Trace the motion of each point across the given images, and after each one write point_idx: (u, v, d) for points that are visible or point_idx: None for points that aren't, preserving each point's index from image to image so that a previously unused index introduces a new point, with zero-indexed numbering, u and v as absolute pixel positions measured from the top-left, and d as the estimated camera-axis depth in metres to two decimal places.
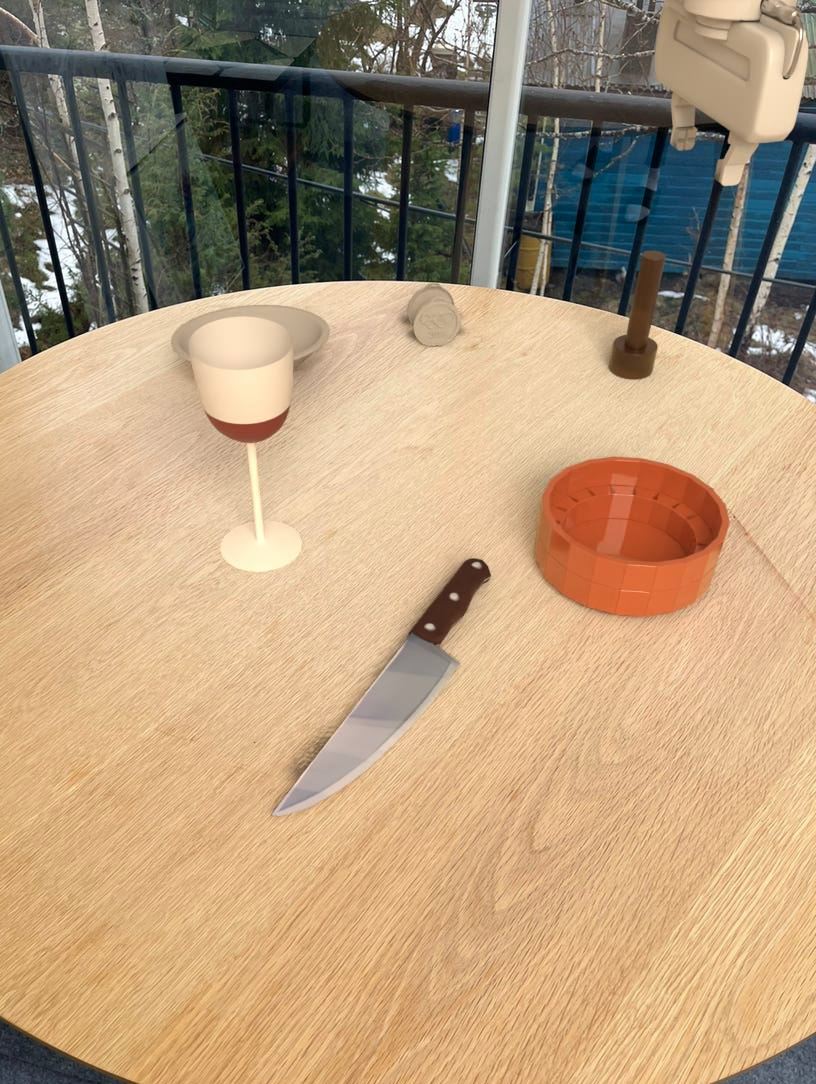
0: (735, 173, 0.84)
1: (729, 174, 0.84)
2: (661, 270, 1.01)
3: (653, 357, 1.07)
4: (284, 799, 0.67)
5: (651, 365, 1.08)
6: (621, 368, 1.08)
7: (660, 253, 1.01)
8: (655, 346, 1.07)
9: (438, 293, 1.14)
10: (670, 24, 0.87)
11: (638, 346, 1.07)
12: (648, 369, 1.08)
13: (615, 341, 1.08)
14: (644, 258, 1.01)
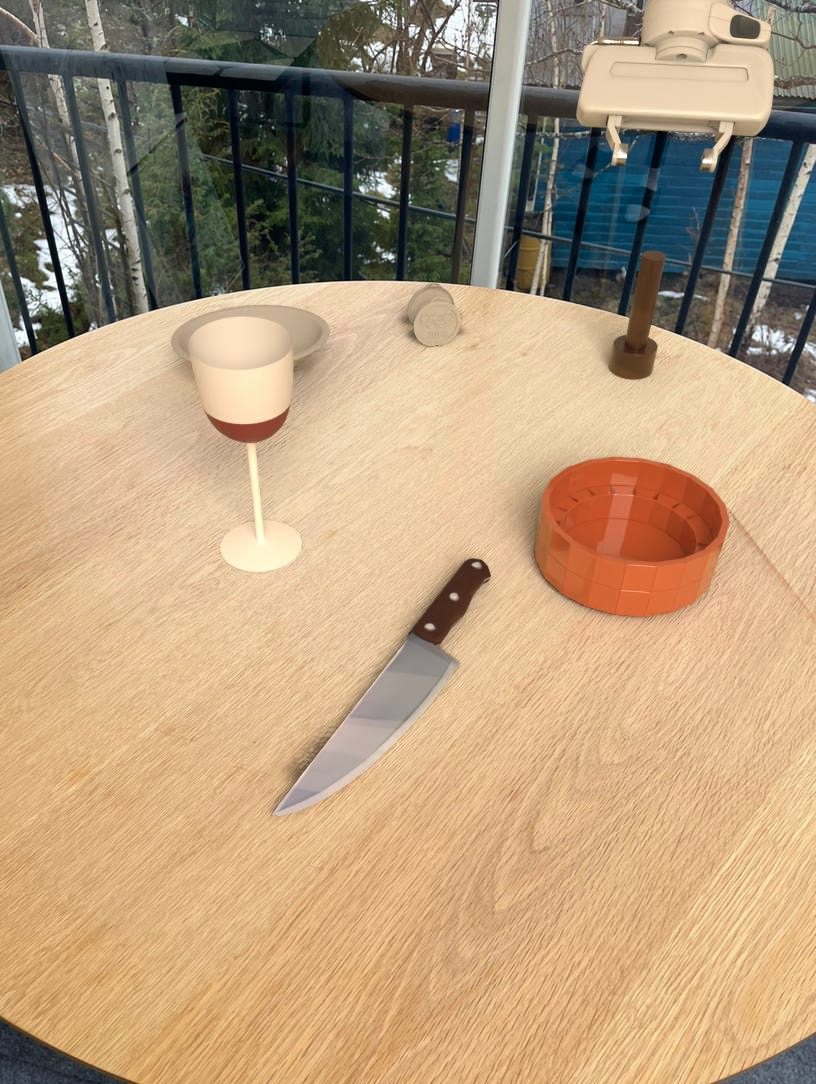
0: (613, 153, 1.07)
1: None
2: (661, 270, 1.01)
3: (653, 357, 1.07)
4: (284, 799, 0.67)
5: (651, 365, 1.08)
6: (621, 368, 1.08)
7: (660, 253, 1.01)
8: (655, 346, 1.07)
9: (438, 293, 1.14)
10: None
11: (638, 346, 1.07)
12: (648, 369, 1.08)
13: (615, 341, 1.08)
14: (644, 258, 1.01)
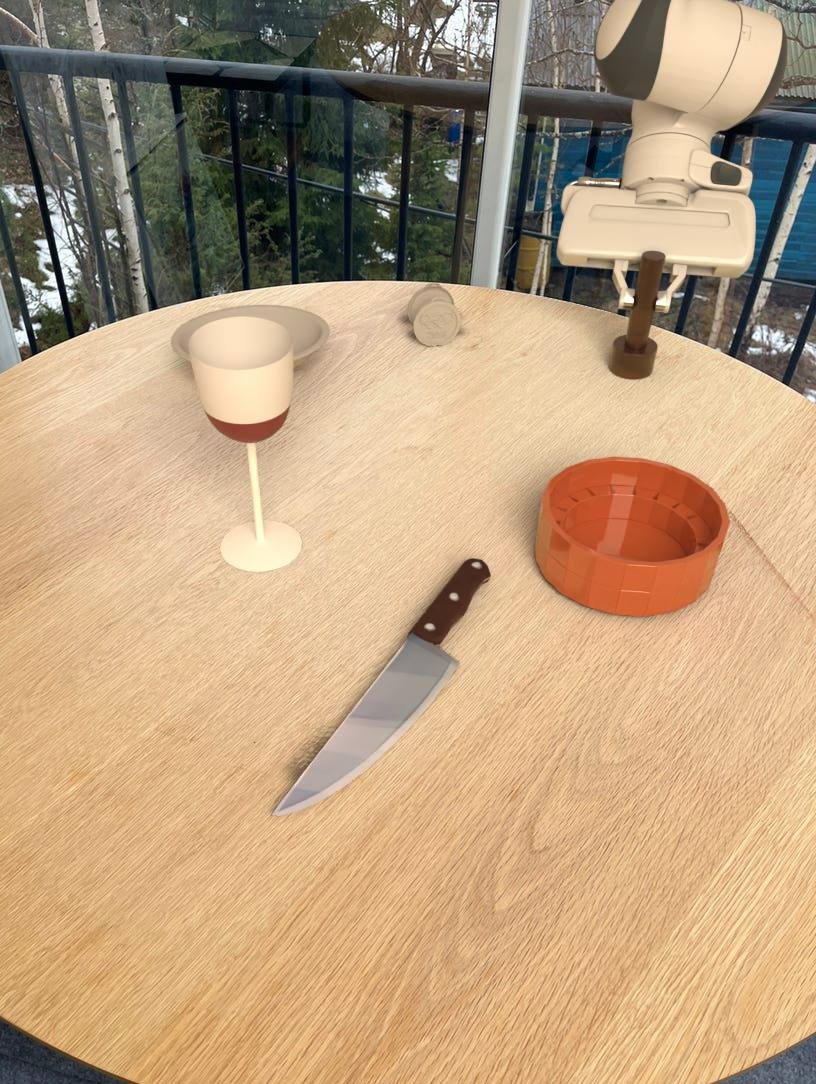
0: None
1: (619, 299, 1.05)
2: (661, 270, 1.01)
3: (653, 357, 1.07)
4: (284, 799, 0.67)
5: (651, 365, 1.08)
6: (621, 368, 1.08)
7: (660, 253, 1.01)
8: (655, 346, 1.07)
9: (438, 293, 1.14)
10: None
11: (638, 346, 1.07)
12: (648, 369, 1.08)
13: (615, 341, 1.08)
14: (644, 258, 1.01)
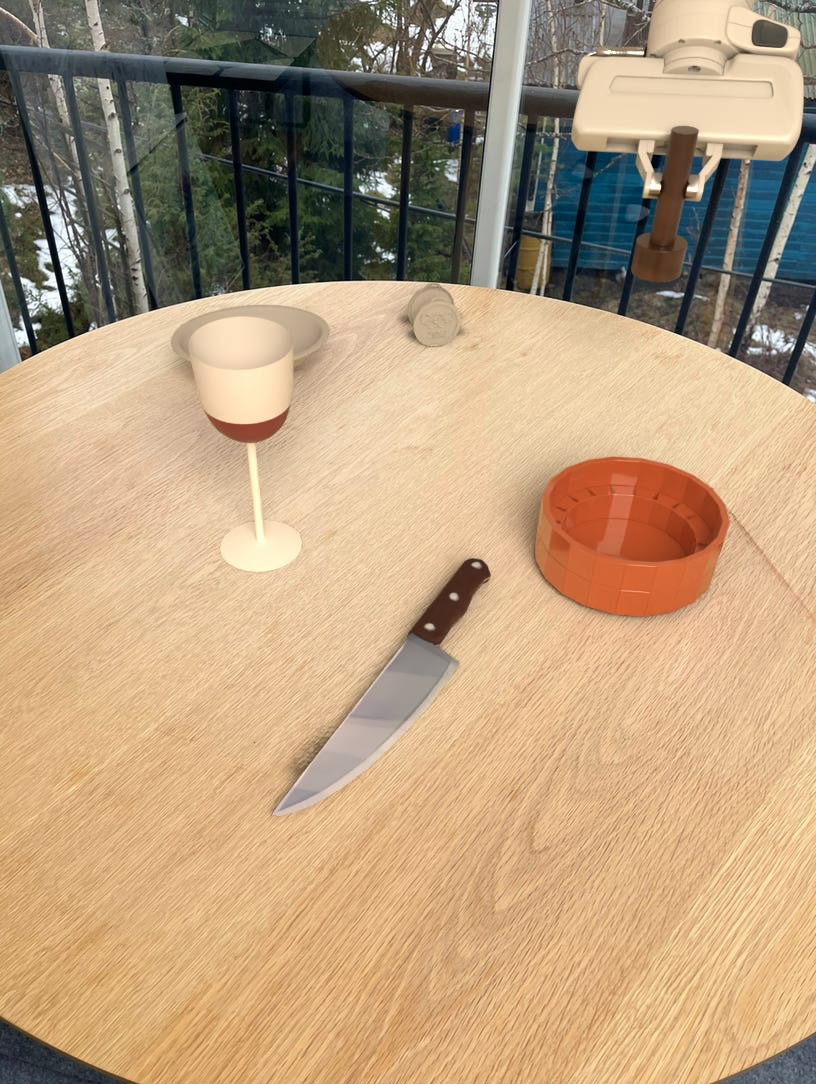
0: (644, 183, 0.91)
1: None
2: (693, 148, 0.87)
3: (682, 255, 0.93)
4: (284, 799, 0.67)
5: (680, 265, 0.94)
6: (645, 269, 0.94)
7: (692, 128, 0.87)
8: (684, 243, 0.93)
9: (438, 293, 1.14)
10: None
11: (665, 242, 0.93)
12: (676, 270, 0.94)
13: (638, 239, 0.94)
14: (674, 133, 0.87)
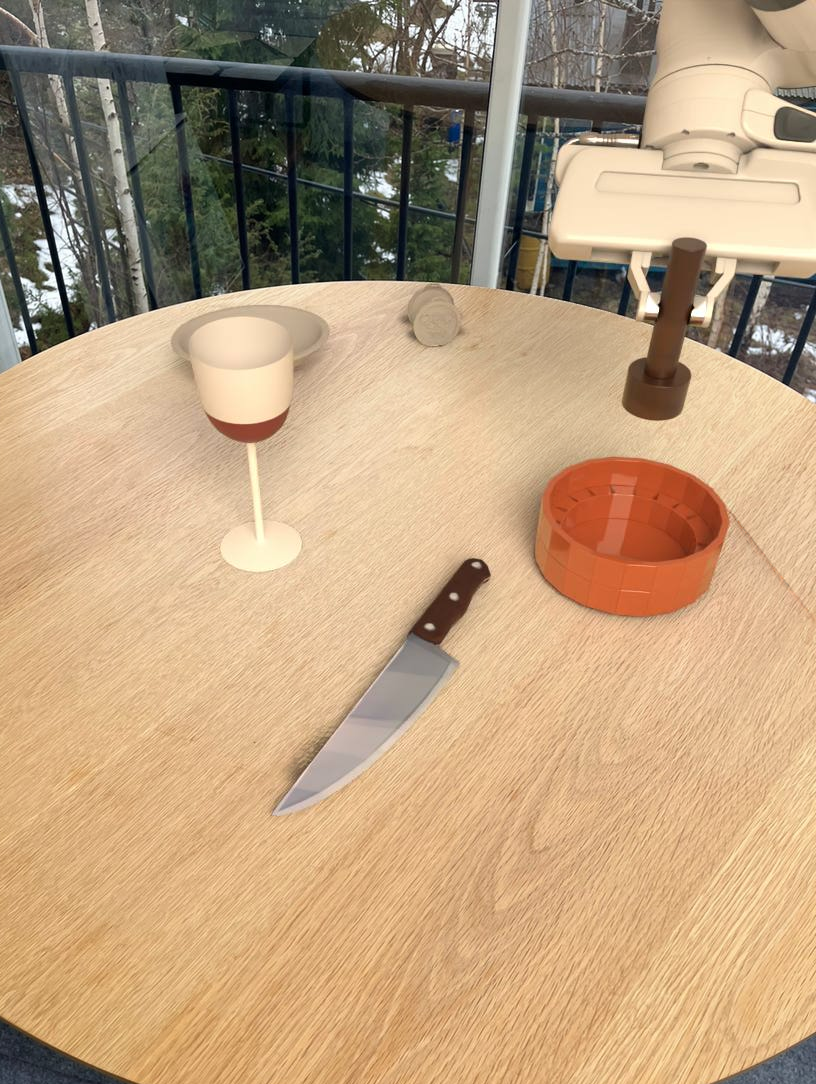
0: (638, 304, 0.73)
1: (637, 307, 0.73)
2: (700, 266, 0.69)
3: (685, 390, 0.75)
4: (284, 799, 0.67)
5: (682, 401, 0.76)
6: (639, 406, 0.76)
7: (698, 241, 0.69)
8: (687, 375, 0.76)
9: (438, 293, 1.14)
10: None
11: (664, 374, 0.75)
12: (678, 407, 0.76)
13: (630, 367, 0.77)
14: (675, 248, 0.69)
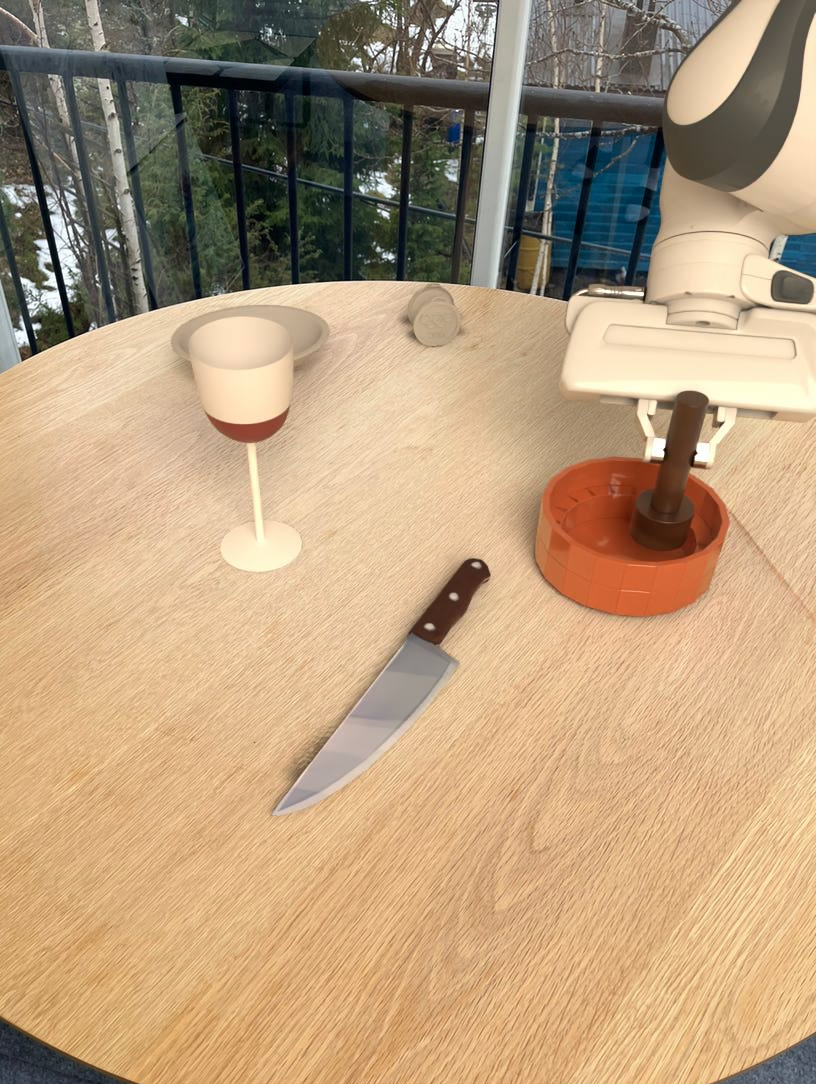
0: (645, 448, 0.77)
1: (644, 450, 0.78)
2: (702, 418, 0.74)
3: (689, 523, 0.80)
4: (284, 799, 0.67)
5: (686, 533, 0.81)
6: (645, 537, 0.81)
7: (701, 395, 0.74)
8: (691, 509, 0.80)
9: (438, 293, 1.14)
10: None
11: (669, 510, 0.80)
12: (682, 538, 0.81)
13: (637, 500, 0.81)
14: (679, 403, 0.73)
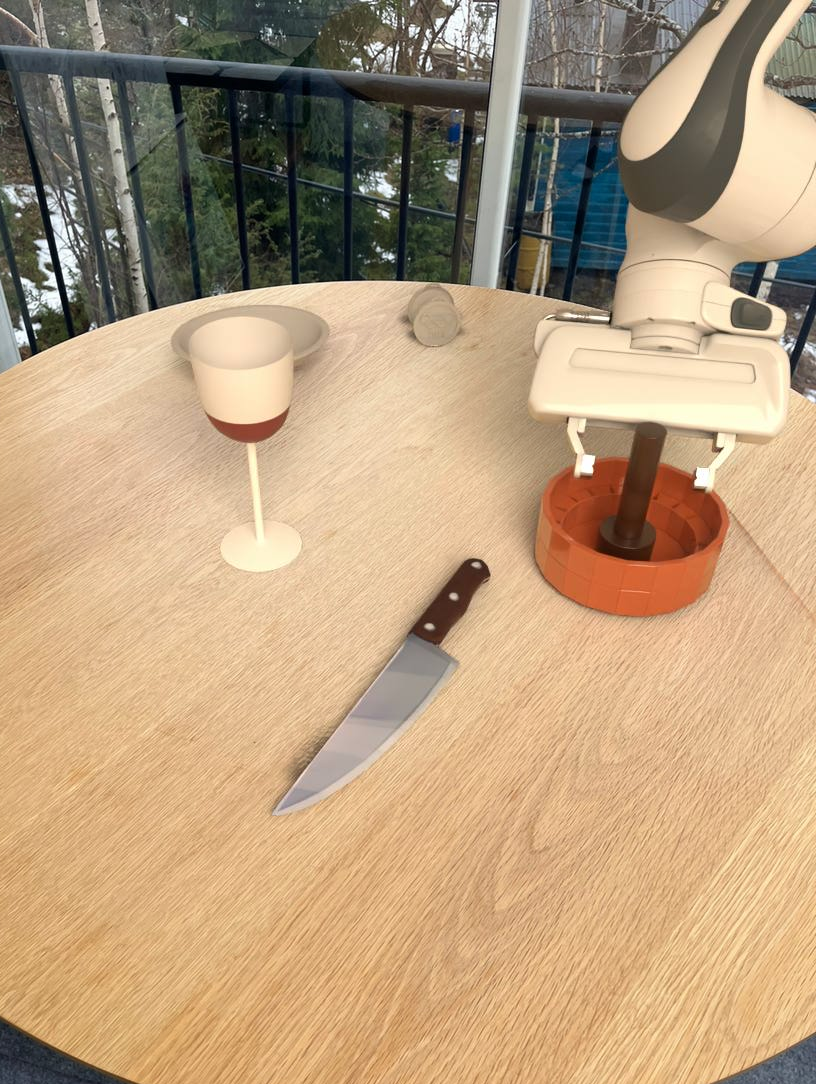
0: (575, 464, 0.80)
1: None
2: (661, 449, 0.77)
3: (650, 549, 0.83)
4: (284, 799, 0.67)
5: (648, 558, 0.83)
6: None
7: (660, 427, 0.77)
8: (652, 535, 0.83)
9: (438, 293, 1.14)
10: None
11: (631, 535, 0.82)
12: None
13: (601, 526, 0.84)
14: (638, 434, 0.76)
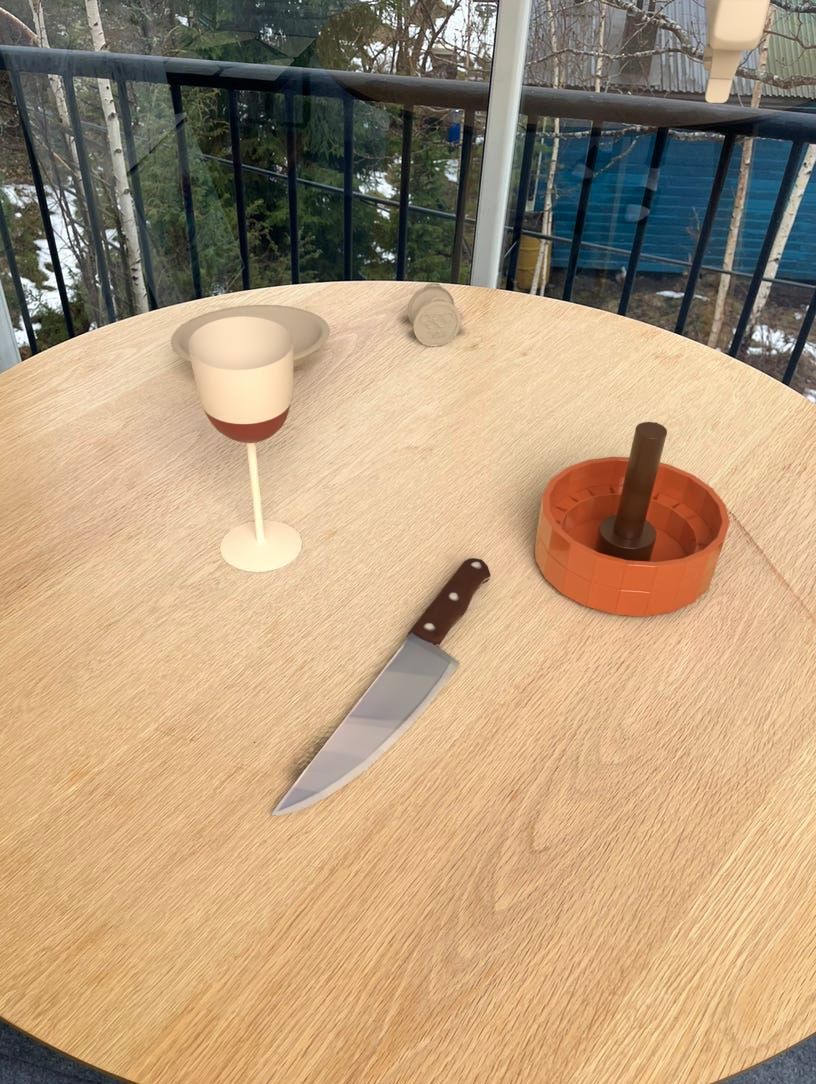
0: (721, 89, 0.78)
1: (714, 89, 0.78)
2: (661, 449, 0.77)
3: (650, 549, 0.83)
4: (283, 799, 0.67)
5: (648, 558, 0.83)
6: None
7: (660, 427, 0.77)
8: (652, 535, 0.83)
9: (438, 293, 1.14)
10: None
11: (631, 535, 0.82)
12: None
13: (601, 526, 0.84)
14: (638, 434, 0.76)
